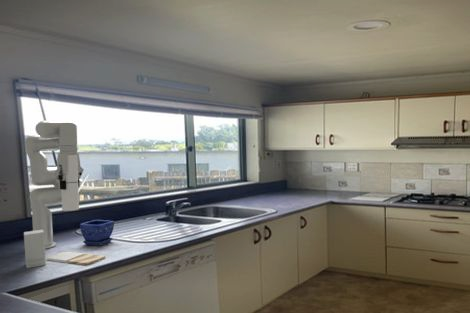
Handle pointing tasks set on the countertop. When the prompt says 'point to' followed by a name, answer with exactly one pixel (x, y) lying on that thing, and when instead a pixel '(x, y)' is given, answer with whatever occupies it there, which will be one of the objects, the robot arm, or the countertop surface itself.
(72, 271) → the countertop surface
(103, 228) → the flower pot
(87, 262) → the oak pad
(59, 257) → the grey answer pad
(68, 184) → the cylindrical container
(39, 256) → the skincare box
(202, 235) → the countertop surface
